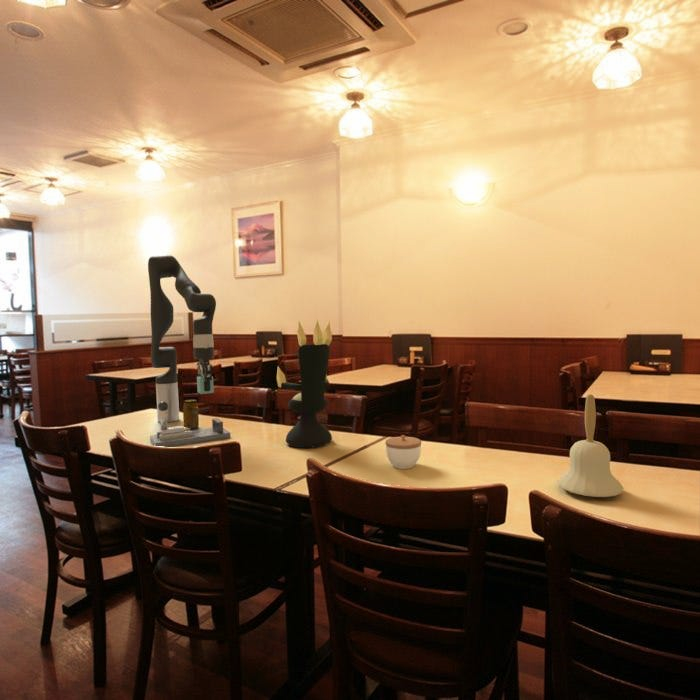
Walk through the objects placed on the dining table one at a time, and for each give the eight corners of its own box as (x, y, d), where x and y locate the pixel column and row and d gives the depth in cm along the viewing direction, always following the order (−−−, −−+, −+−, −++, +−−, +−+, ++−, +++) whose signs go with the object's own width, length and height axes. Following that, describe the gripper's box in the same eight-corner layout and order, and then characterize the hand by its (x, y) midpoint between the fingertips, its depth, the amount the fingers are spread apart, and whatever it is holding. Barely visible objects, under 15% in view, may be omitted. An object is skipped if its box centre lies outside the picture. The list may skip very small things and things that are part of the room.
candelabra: (324, 434, 195) (321, 318, 191) (349, 447, 175) (346, 318, 171) (277, 440, 187) (273, 319, 183) (297, 455, 167) (293, 319, 163)
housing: (197, 392, 194) (196, 376, 194) (210, 391, 197) (209, 375, 196) (200, 394, 190) (199, 378, 190) (213, 392, 193) (213, 377, 192)
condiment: (196, 426, 215) (195, 398, 214) (204, 429, 208) (203, 400, 208) (179, 428, 210) (178, 400, 209) (187, 432, 204) (185, 403, 203)
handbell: (637, 501, 121) (639, 398, 119) (577, 505, 119) (578, 400, 117) (599, 480, 136) (600, 388, 134) (545, 483, 135) (546, 390, 133)
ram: (158, 436, 188) (156, 401, 187) (186, 432, 193) (184, 398, 192) (160, 438, 184) (158, 402, 183) (188, 434, 189) (187, 399, 188)
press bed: (150, 441, 190) (149, 425, 190) (221, 431, 204) (220, 416, 203) (155, 448, 179) (155, 432, 179) (230, 437, 193) (229, 422, 192)
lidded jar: (385, 460, 158) (384, 431, 158) (419, 460, 158) (419, 431, 157) (386, 471, 148) (386, 440, 147) (423, 471, 147) (423, 439, 147)
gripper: (189, 345, 197) (191, 388, 198) (198, 347, 184) (200, 393, 185) (208, 344, 200) (210, 387, 202) (218, 346, 188) (220, 391, 189)
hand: (205, 390), depth 193 cm, fingers closed on housing, 5 cm apart
